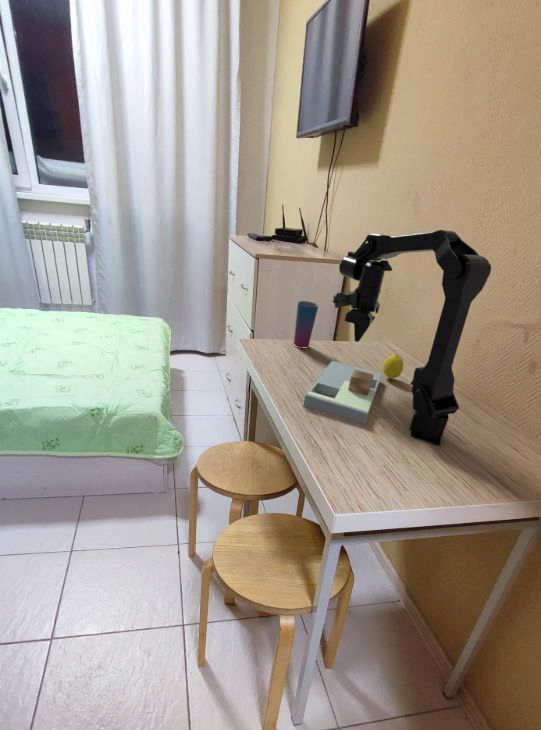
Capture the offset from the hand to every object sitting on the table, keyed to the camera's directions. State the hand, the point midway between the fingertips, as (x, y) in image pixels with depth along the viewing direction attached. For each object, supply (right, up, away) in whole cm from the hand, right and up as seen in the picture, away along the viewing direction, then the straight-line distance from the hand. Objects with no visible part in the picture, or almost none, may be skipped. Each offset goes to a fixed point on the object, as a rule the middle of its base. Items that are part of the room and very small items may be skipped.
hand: (356, 341), depth 104 cm
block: (-1, -13, -6) cm, 14 cm away
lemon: (+12, -11, +9) cm, 19 cm away
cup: (-13, 0, +26) cm, 29 cm away
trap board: (-4, -14, -2) cm, 14 cm away
